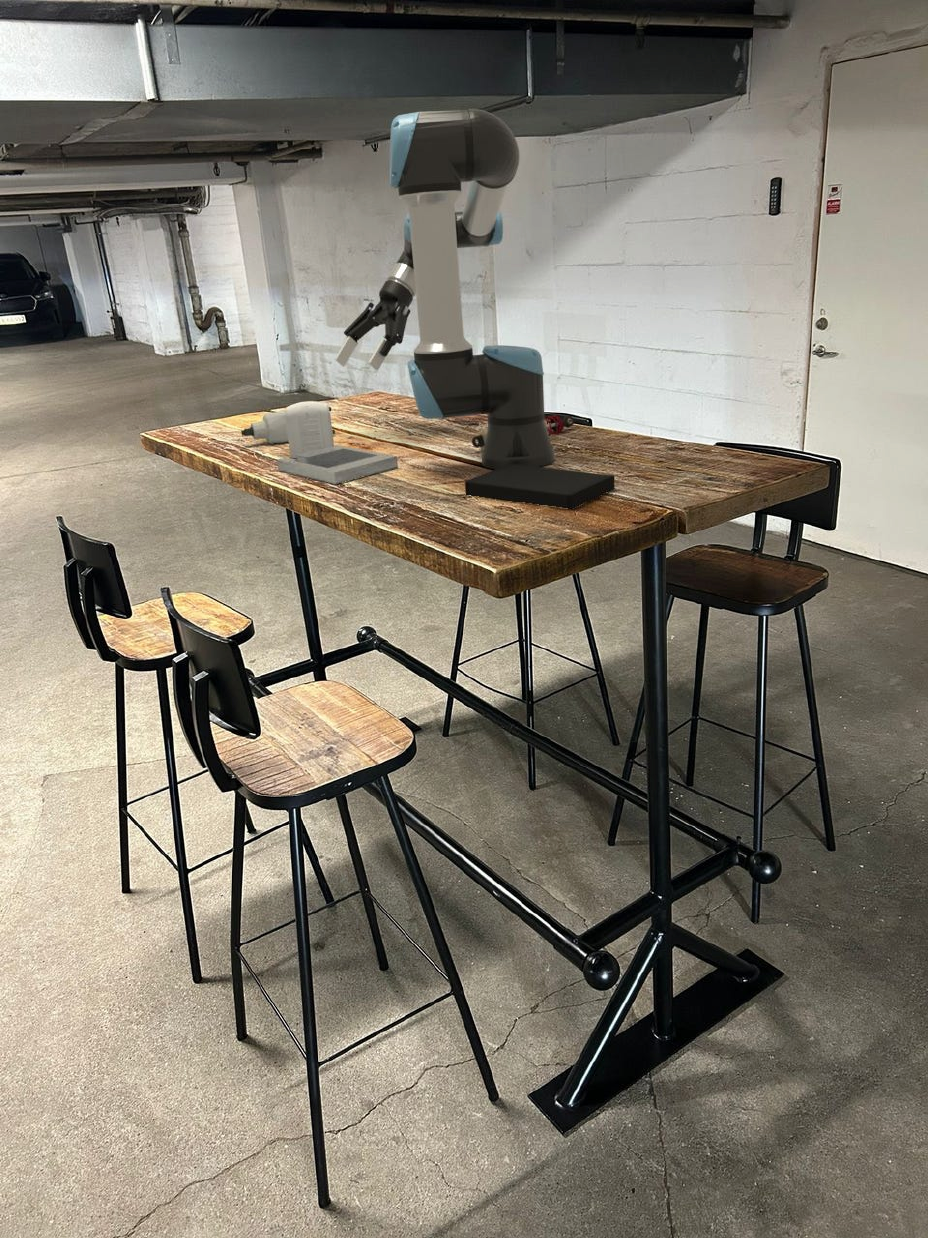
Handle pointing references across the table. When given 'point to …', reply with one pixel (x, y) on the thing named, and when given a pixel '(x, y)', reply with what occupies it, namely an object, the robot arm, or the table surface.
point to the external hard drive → (540, 486)
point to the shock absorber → (555, 425)
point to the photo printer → (308, 427)
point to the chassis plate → (337, 464)
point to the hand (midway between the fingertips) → (355, 364)
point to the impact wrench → (271, 428)
